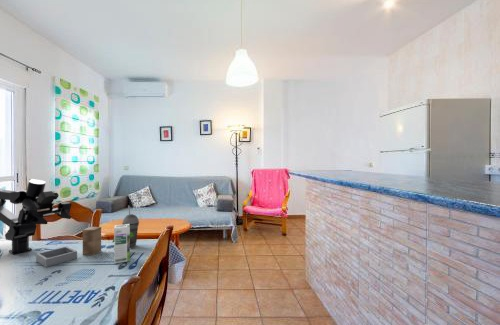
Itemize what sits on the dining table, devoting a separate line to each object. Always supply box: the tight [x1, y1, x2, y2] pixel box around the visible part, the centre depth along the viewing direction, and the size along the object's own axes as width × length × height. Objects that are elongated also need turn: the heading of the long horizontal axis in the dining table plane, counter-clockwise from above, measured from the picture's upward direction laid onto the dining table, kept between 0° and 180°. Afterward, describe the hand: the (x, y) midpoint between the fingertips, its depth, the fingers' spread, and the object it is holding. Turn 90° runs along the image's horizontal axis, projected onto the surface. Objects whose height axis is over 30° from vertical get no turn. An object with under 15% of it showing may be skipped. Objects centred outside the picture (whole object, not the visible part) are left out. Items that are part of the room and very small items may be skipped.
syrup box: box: [113, 224, 131, 265], centre depth 101 cm, size 6×6×14 cm
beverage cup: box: [121, 205, 140, 249], centre depth 117 cm, size 7×7×20 cm
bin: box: [35, 245, 78, 268], centre depth 102 cm, size 11×11×3 cm
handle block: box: [82, 226, 102, 256], centre depth 109 cm, size 5×5×11 cm
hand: (59, 220), depth 102 cm, fingers open, 9 cm apart
